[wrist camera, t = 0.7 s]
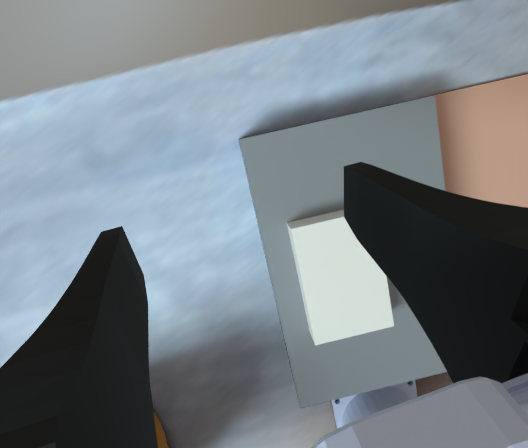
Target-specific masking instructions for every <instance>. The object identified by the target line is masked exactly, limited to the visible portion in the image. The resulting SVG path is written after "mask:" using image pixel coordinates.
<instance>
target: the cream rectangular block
mask: <svg viewBox="0 0 528 448" xmlns="http://www.w3.org/2000/svg"><path fill="white" fill-rule="evenodd" d="M287 226H288V231H289V236H290V240H291V245H292V250H293V255H294V259H295V264H296V269H297V274H298V278H299V283H300V288H301V293H302V297H303V302H304V307H305V312H306V316H307V321H308V326H309V331H310V334H311V336H312V339H313V341H314V344H315V345H319V344H323V343H328V342H332V341H336V340H340V339H344V338H348V337H352V336H356V335H360V334H364V333H369V332H373V331H377V330H381V329H385V328H389V327H393V326H394V322H393V315H392V309H391V302H390V296H389V289H388V283H387V276H386V275H385V273H384V272H383V271H382V270H381V269H380V267H379V266H378V265H377V264H376V262H375V261H374V260H373V259H372V257H371V256H370V255H369V254H368V252H367V251H366V250H365V249H364V247H363V246H362V245H361V244H360V242H359V241H358V240H357V238H356V237H355V235H354V233H353V232H352V230H351V228H350V226H349V225H348V223H347V221H346V219H345V218H344V210H339V211H335V212H331V213H327V214H322V215H318V216H314V217H309V218H305V219H301V220H297V221H292V222H288V223H287Z"/></svg>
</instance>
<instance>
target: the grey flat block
mask: <svg viewBox="0 0 528 448" xmlns="http://www.w3.org/2000/svg"><path fill="white" fill-rule="evenodd" d="M239 143H240V148H241V152H242V157H243V161H244V165H245V170H246V174H247V178H248V183H249V187H250V192H251V196H252V200H253V205H254V209H255V213H256V218H257V222H258V227H259V231H260V235H261V240H262V244H263V248H264V253H265V257H266V262H267V266H268V270H269V275H270V279H271V283H272V288H273V292H274V297H275V301H276V305H277V310H278V314H279V318H280V323H281V327H282V331H283V336H284V340H285V345H286V349H287V353H288V358H289V362H290V366H291V371H292V375H293V380H294V383H295V387H296V391H297V395H298V399H299V403H300V407H301V408H304V407H308V406H312V405H316V404H320V403H324V402H328V401H332V400H336V399H340V398H344V397H348V396H352V395H356V394H360V393H364V392H368V391H372V390H376V389H380V388H384V387H388V386H392V385H396V384H400V383H404V382H408V381H412V380H416V379H420V378H424V377H428V376H432V375H437V374H441V373H445V372H447V370H446V368H445V367H444V365H443V363H442V361H441V359H440V358H439V356H438V354H437V352H436V351H435V349H434V347H433V345H432V343H431V342H430V340H429V338H428V337H427V335H426V333H425V332H424V330H423V328H422V327H421V325H420V323H419V322H418V320H417V319H416V317H415V315H414V314H413V312H412V311H411V309H410V308H409V306H408V304H407V303H406V301H405V300H404V298H403V297H402V295H401V294H400V293H399V291H398V290H397V288H396V287H395V286H394V285H393V283H392V282H391V281H390V280H389V278H388V277H387V283H388V289H389V296H390V302H391V309H392V315H393V322H394V326H393V327H389V328H385V329H381V330H377V331H373V332H369V333H364V334H360V335H356V336H352V337H348V338H344V339H340V340H336V341H332V342H328V343H323V344H319V345H315V344H314V341H313V339H312V336H311V334H310V331H309V326H308V321H307V316H306V312H305V307H304V302H303V297H302V293H301V288H300V283H299V278H298V274H297V269H296V264H295V259H294V255H293V250H292V245H291V240H290V236H289V231H288V226H287V223H288V222H292V221H297V220H301V219H305V218H309V217H314V216H318V215H322V214H327V213H331V212H335V211H339V210H344V166H347V165H351V164H354V163H358V162H364V163H367V164H370V165H373V166H376V167H379V168H381V169H384V170H387V171H389V172H392V173H395V174H397V175H400V176H403V177H405V178H408V179H411V180H414V181H416V182H419V183H422V184H425V185H428V186H431V187H434V188H438V189H441V190H444V191H445V183H444V174H443V165H442V156H441V147H440V137H439V128H438V119H437V110H436V101H435V96H431V97H425V98H420V99H415V100H410V101H406V102H401V103H397V104H392V105H388V106H383V107H379V108H375V109H370V110H366V111H361V112H357V113H352V114H348V115H344V116H339V117H335V118H330V119H326V120H321V121H317V122H312V123H308V124H304V125H299V126H295V127H290V128H286V129H281V130H277V131H272V132H268V133H264V134H259V135H255V136H250V137H246V138H241V139H239Z"/></svg>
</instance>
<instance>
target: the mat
mask: <svg viewBox="0 0 528 448" xmlns="http://www.w3.org/2000/svg"><path fill="white" fill-rule="evenodd" d="M432 96H435V101H436V110H437V119H438V128H439V137H440V147H441V156H442V165H443V174H444V183H445V191H447V192H451V193H455V194H458V195H462V196H467V197H471V198H475V199H479V200H484V201H489V202H494V203H500V204H507V205H513V206H519V207H527V208H528V74H526V75H521V76H517V77H512V78H508V79H503V80H499V81H494V82H490V83H486V84H481V85H477V86H472V87H468V88H463V89H459V90H454V91H450V92H446V93H441V94H437V95H432ZM428 97H431V96H428ZM423 98H425V97H423Z"/></svg>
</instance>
